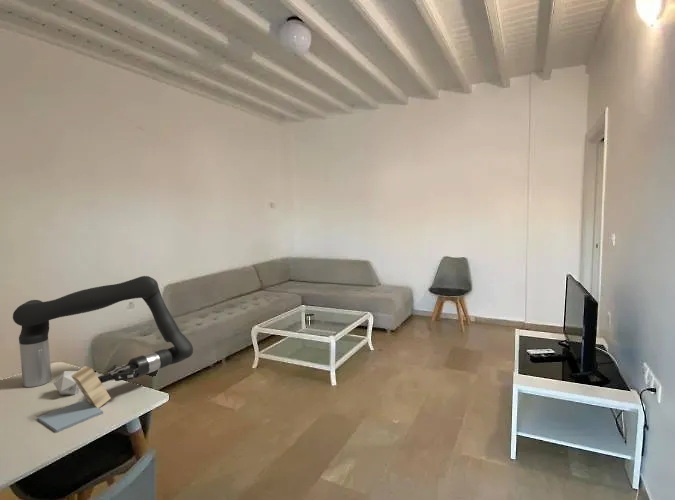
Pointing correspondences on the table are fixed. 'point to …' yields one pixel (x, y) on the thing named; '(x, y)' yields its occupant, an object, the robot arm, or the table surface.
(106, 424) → the table surface
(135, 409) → the table surface
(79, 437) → the table surface
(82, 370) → the beech block
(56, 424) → the mat
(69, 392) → the die
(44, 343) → the robot arm
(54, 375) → the table surface
